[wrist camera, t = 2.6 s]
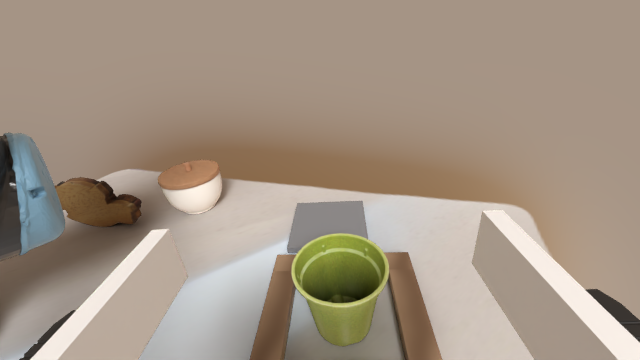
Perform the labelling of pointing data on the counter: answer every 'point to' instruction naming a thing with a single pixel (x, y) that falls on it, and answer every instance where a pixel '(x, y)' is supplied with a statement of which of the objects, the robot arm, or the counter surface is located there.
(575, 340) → the robot arm
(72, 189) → the wooden carving
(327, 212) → the charcoal mat
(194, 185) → the lidded jar
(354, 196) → the counter surface
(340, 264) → the plant pot
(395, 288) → the walnut frame
